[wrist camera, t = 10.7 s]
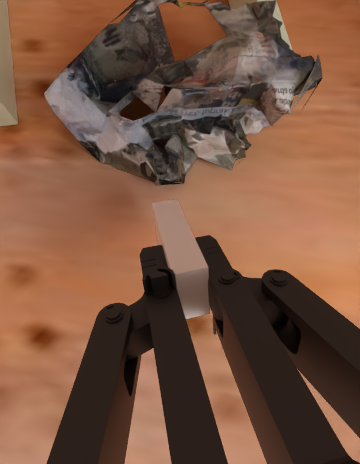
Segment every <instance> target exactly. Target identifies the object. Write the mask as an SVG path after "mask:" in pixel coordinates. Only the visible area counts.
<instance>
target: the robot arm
mask: <svg viewBox="0 0 360 464" xmlns="http://www.w3.org/2000/svg"><path fill="white" fill-rule="evenodd" d="M152 208H153V214H154V221H155V228H156V235H157V241H158V246H152V247H147V248H143V249H142V251H141V253H140V260H141V266H142V273H143V280H142V281H143V285H144V290H145V292H144V294H143V296H142V297H141V298H140V299H139V300H138V301H137V302H135V303H134V304H132V305H130V306H127V305H125V304H123V303H114V304H110V305H108V306H106V307H104V308H103V309H102V310H101V311H100V312H99V314H98V315H97V318H96V321H95V324H94V327H93V330H92V332H91V335H90V338H89V341H88V344H87V347H86V350H85V353H84V356H83V359H82V362H81V365H80V368H79V370H78V373H77V376H76V379H75V382H74V385H73V388H72V391H71V394H70V397H69V400H68V403H67V406H66V409H65V411H64V414H63V417H62V420H61V423H60V426H59V429H58V432H57V435H56V438H55V441H54V444H53V447H52V449H51V452H50V455H49V458H48V461H47V464H124V463H125V456H126V450H127V444H128V437H129V431H130V425H131V418H132V412H133V406H134V399H135V393H136V387H137V380H138V374H139V368H140V361H141V355H142V354H143V353H145V352H147V351H149V350H150V349H152V348H154V353H155V360H156V366H157V372H158V379H159V385H160V392H161V398H162V405H163V411H164V417H165V424H166V430H167V437H168V443H169V449H170V456H171V462H172V464H228V462H227V459H226V456H225V452H224V449H223V445H222V442H221V438H220V435H219V432H218V428H217V425H216V421H215V418H214V414H213V411H212V408H211V404H210V401H209V397H208V394H207V390H206V387H205V384H204V380H203V377H202V373H201V370H200V366H199V363H198V360H197V356H196V353H195V349H194V346H193V342H192V339H191V336H190V332H189V329H188V325H187V322H186V319H188V318H193V317H197V316H202V315H206V314H210V308H211V310H212V313H213V332H214V334H216V331H217V334H218V336H219V339H220V341H221V344H222V347H223V349H224V352H225V354H226V357H227V360H228V362H229V365H230V368H231V370H232V373H233V375H234V378H235V381H236V383H237V386H238V389H239V391H240V394H241V396H242V399H243V402H244V404H245V407H246V410H247V412H248V415H249V417H250V420H251V423H252V425H253V428H254V431H255V433H256V436H257V438H258V441H259V444H260V446H261V449H262V451H263V454H264V457H265V459H266V462H267V464H360V463H358V462H357V461H355V460H353V459H352V458H351V457H350V456H349V455H348V454H347V452H346V451H345V449H344V448H343V446H342V444H341V443H340V441H339V439H338V438H337V436H336V434H335V433H334V431H333V429H332V427H331V426H330V424H329V422H328V421H327V419H326V417H325V416H324V414H323V412H322V410H321V409H320V407H319V405H318V404H317V402H316V400H315V399H314V397H313V395H312V393H311V392H310V390H309V388H308V387H307V385H306V383H305V382H304V380H303V378H302V376H301V375H300V373H299V371H300V372H301V373H302V374H303V375H304V377H305V378H306V379H307V380H308V381H309V382H310V383H311V384H312V385H313V387H314V388H315V389H316V390H317V391H318V392H319V393H320V394H321V395H322V397H323V398H324V399H325V400H326V401H327V402H328V403H329V404H330V405H331V407H332V408H333V409H334V410H335V411H336V412H337V413H338V414H339V416H340V417H341V418H342V419H343V420H344V421H345V422H346V423H347V424H348V426H349V427H350V428H351V429H352V430H353V431H354V432H355V433H356V434H357V436H358V437H359V438H360V329H359V328H358V327H357V326H355V325H354V324H353V323H352V322H350V321H349V320H348V319H347V318H345V317H344V316H343V315H341V314H340V313H339V312H338V311H336V310H335V309H334V308H333V307H331V306H330V305H329V304H328V303H326V302H325V301H324V300H323V299H321V298H320V297H319V296H318V295H316V294H315V293H314V292H313V291H311V290H310V289H309V288H307V287H306V286H305V285H304V284H302V283H301V282H300V281H299V280H297V279H296V278H295V277H294V276H292V275H291V274H289V273H288V272H286V271H283V270H274V269H273V270H269V271H267V272H265V273H264V274H263V276H262V278H247V277H243V276H242V275H241V274H240V273H239V272H238V271H236V270H234V269H232V267H231V265H230V263H229V261H228V260H227V258H226V256H225V254H224V253H223V252H222V249H221V247H220V246H219V244H218V242H217V240H216V239H214V238H213V237H211V236H210V235H208V236H202V237H197V238H195V237H194V235H193V233H192V231H191V229H190V226H189V224H188V222H187V220H186V218H185V216H184V213H183V211H182V209H181V207H180V205H179V203H178V200H177V199H173V200H167V201H161V202H155V203H152ZM297 369H298V370H299V371H298V370H297Z"/></svg>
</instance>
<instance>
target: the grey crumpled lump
mask: <svg viewBox="0 0 360 464" xmlns="http://www.w3.org/2000/svg"><path fill="white" fill-rule="evenodd" d="M207 1H209V0H207ZM207 1H205V2H203V3H191V2H188V3H178V1H177V0H135V1H134V2H133V3H132V4H131V5H130V6H129V7H128V8H127V9H125V10H124V11H123V12H122V13H121V14H120V15H119V16H121V15H122V14H123V13H125V12H126V11H128V10H129V9H130V8H132V7H133V6H134V5H135V6H134V7H133V8H132V9H131V10H130V12H129V13H128V14H127V15H126V16H125V17H124V18H123V19H122V20H121V22H120V23H116V24H110V25H107V26H106V27H105V28H104V30H103V31H102V32H101V33H100V34H99V35H98V36H97V37H96V38H95V39H94V40H93V41H92V42H91V43H90V44H89V45H88V46H87V47H86V48H85V49H84V50H83V51H82V52H81V53H80V54H79V55H78V56H77V57H76V58H75V59H74V60H73V61H72V62H71V63H70V64H69V65H68V66H67V67H66V68H65V69H64V70H63V71H62V72H61V73H60V74H59V76H58V77H57V78H56V79H55V81H54V82H53V83H52V84H51V85H50V87H49V88H48V89H47V90H46V92H45V93H44V94H45V98H46V100H47V102H48V103H49V105H50V107H51V108H52V110H53V111H54V113H55V114H56V115H57V116H58V117H59V119H60V120H61V121H62V122H63V123H64V125H65V126H66V127H67V128H68V129H69V130H70V132H71V133H72V134H73V135H74V136H75V138H76V139H77V140H78V141H79V142H80V143H81V145H82V146H84V147H85V148H86V149H87V150H88V151H89V152H90V153H91V154H92V155H93V156H94V157H95V158H96V159H97V160H99V161H100V162H101V163H103V164H108V165H111V166H113V167H115V168H116V169H118V170H122V171H125V172H128V173H131V174H134V175H138V176H141V177H144V178H146V179H148V180H150V181H152V182H155V185H168V184H182V183H184V181H185V176H186V174H187V173H188V171H189V169H190V168H191V166H192V165H193V163H194V162H195V160H196V159H197V157H199V158H202V159H204V160H207V161H209V162H212V163H214V164H217V165H219V166H222V167H224V168H227V169H229V170H232V167H233V165H234V162H235V160H236V159H240V158H245V150H247V149H248V148H249V147H250V146H251V144H250V143H249V142H248V140H247V139H246V135H249V134H258V133H259V131H260V130H261V129H262V128H263V127H268V126H270V125H271V126H273V124H274V123H275V122H276V121H277V120H278V119H279V118H280V117H281V116H282V115H284V114H287V113H292V111H291V110H290V108H291V104H292V101H293V98H294V96H295V95H298V94H300V95H299V97H298V99H297V101H296V103H295V105H296V104H297V103H298V101H299V100H300V99H301V97H302V96H303V95H304V93H305V92H306V91H308V90H310V89H312V88H314V87H315V86H316V83H317V86H318V84H319V82H320V81H321V79H322V69H321V62H320V59H319V56H317V59H316V62H315V61H314V58H313V57H312V56H307V57H301V56H300V55H299V54H296V53H294V51H293V50H291V49H290V45H288V44H287V43H286V42H285V41H284V40H283V39H282V36H281V31H280V28H281V25H282V23H283V22H281V21H279V20H277V19H276V18H274V17H273V13H274V10H275V5H276V0H273V1H260V2H253V3H245V4H244V5H243V6H241V7H239V8H237V9H233V8H231V7H229V6H227V5H225V4H224V3H222V2H217V3H207V4H204V3H206V2H207ZM166 2H171V3H174V4H176V5H177V6H178V7H180V8H181V7H183V6H184V5H186V4H187V5H193V6H206V7H207V8H208V10H209V11H210V12H211V14H212V15H213V16H214V18H215V19H216V20H217V22H218V23H219V25H220V26H221V27H222V29H223V30H224V31H225V33H226V34H227V36H225V37H223V38H222V39H220V40H218V41H216V42H215V43H213V44H211V45H209V46H208V47H206V48H204V49H203V50H201V51H199V52H197V53H196V54H194V55H192V56H191V57H189V58H187V59H185V60H182V61H176V62H175V61H174V58H173V54H172V51H171V48H170V44H169V41H168V38H167V34H166V31H165V27H164V24H163V21H162V17H161V14H160V11H159V7H158V4H161V3H166ZM119 16H118V17H119ZM118 17H116V18H115V19H117V18H118ZM115 19H114V20H115ZM114 20H113V21H114ZM113 21H112V22H113ZM114 80H118V81H116V82H114ZM163 86H164V87H165V95H166V96H167V97H166V98H165V100H164V101H163V103H162V104H161V106H160V107H159V109H158V110H157V107H158V104H159V100H160V97H161V93H162V90H163ZM317 86H316V87H317ZM315 89H316V88H315ZM315 89H314V90H315ZM313 92H314V91H313ZM313 92H312V93H313ZM311 95H312V94H311ZM136 97H138V98H140V99H141V100H142V101H143V102H144V103H145V104H147V105H148V106H149V107H150V108H151V109H152V110H154V112H152V113H150V114H149V115H147V116H145V117H143V118H140V119H138V120H135V121H133V120H130V119H127V118H124V117H122V116H120V111H121V110H123V108H124V107H126V106H127V105H128V104H129V103H131V102H132V101H133V100H134V99H135V98H136ZM310 97H311V96H310ZM310 97H309V98H310ZM308 100H309V99H308ZM306 103H307V102H306ZM295 105H294V107H295ZM305 105H306V104H305ZM294 107H293V108H294ZM303 108H304V107H303ZM152 145H153V146H154V147H155V150H153V149H149V148H150V147H152ZM242 160H243V159H242ZM242 160H241V161H242ZM241 161H240V162H241ZM240 162H239V163H240ZM239 163H238V164H239ZM160 181H162V182H160ZM175 182H181V183H175Z"/></svg>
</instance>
